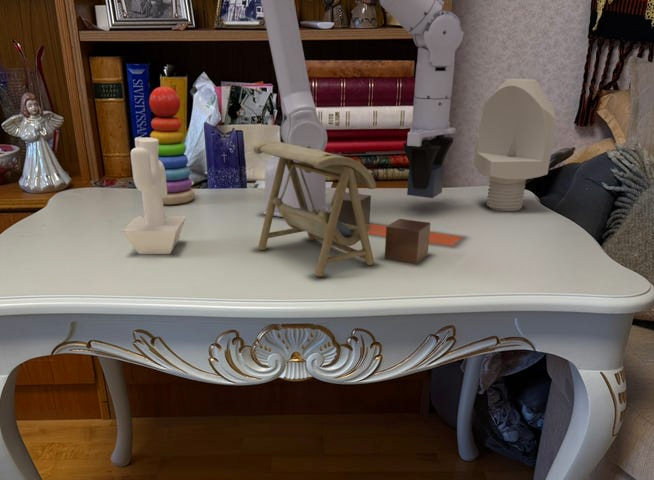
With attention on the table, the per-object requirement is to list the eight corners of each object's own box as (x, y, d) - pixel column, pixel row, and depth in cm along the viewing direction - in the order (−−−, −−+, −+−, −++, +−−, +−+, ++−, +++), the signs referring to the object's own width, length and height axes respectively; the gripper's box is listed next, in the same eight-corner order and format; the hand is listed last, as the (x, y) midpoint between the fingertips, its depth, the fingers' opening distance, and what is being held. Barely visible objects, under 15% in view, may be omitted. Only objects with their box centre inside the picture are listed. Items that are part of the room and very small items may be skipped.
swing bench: (376, 265, 87) (382, 148, 80) (316, 280, 82) (317, 157, 75) (312, 238, 98) (312, 133, 91) (256, 249, 93) (251, 139, 86)
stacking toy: (190, 206, 114) (181, 89, 106) (144, 206, 114) (131, 89, 106) (198, 195, 121) (189, 84, 113) (154, 195, 122) (142, 84, 113)
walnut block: (384, 259, 89) (386, 226, 87) (396, 250, 92) (398, 218, 90) (416, 264, 87) (418, 231, 85) (427, 255, 90) (430, 222, 88)
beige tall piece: (469, 200, 117) (483, 77, 108) (521, 199, 117) (539, 77, 108) (485, 214, 109) (501, 82, 100) (541, 213, 109) (562, 82, 100)
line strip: (320, 226, 103) (320, 226, 103) (334, 219, 107) (334, 218, 107) (452, 246, 94) (452, 245, 94) (462, 237, 98) (462, 236, 98)
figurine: (189, 239, 97) (180, 132, 90) (177, 260, 89) (166, 143, 82) (140, 239, 97) (127, 132, 91) (123, 259, 89) (107, 143, 82)
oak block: (331, 227, 102) (331, 198, 100) (343, 220, 106) (344, 192, 104) (357, 231, 100) (358, 201, 98) (369, 224, 104) (371, 195, 102)
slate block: (406, 195, 110) (408, 167, 108) (416, 189, 113) (418, 162, 111) (432, 198, 108) (435, 170, 106) (441, 192, 111) (444, 165, 109)
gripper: (442, 103, 96) (433, 197, 103) (470, 94, 108) (461, 179, 114) (396, 100, 99) (391, 191, 106) (429, 92, 111) (422, 175, 117)
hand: (425, 185), depth 110 cm, fingers closed on slate block, 4 cm apart
